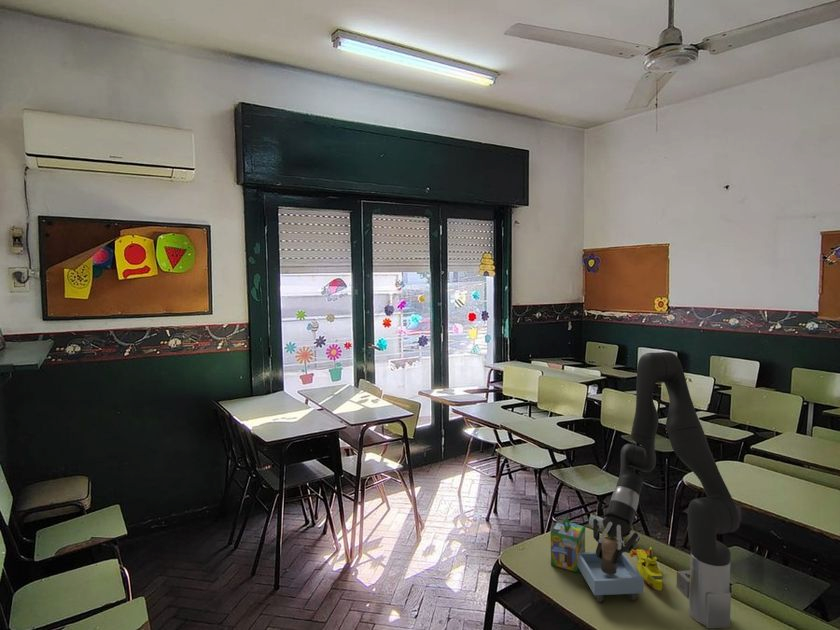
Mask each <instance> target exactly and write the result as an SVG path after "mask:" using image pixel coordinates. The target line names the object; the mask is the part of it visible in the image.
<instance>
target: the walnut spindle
mask: <svg viewBox="0 0 840 630" xmlns="http://www.w3.org/2000/svg"><path fill="white" fill-rule="evenodd" d="M616 549H617V539H616V538H615V539H614V538H613V537H610V538H608V537H606V538H603V539H602V556H601V570H602V571H603V572H604V573H606V574H610V575H613V574H616V572H617V564H616V565H615V564H613V563H612V559H613V556H614V553H615V551H616Z"/></svg>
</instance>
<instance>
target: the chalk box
mask: <svg viewBox="0 0 840 630" xmlns="http://www.w3.org/2000/svg"><path fill="white" fill-rule="evenodd" d="M583 552H586V526H584V525H580V524H577V523H574V522H570V519H569V516H568V515H567V514H566V516H564V519H563V520H560V519H558V520H557V521H556V523H555V524H554V526H553V527H552V529H551V530H550V565H551V566H552V567H557V568H560V569H564V570H567V571H571V572H574V573H577V574H579V573H581V571H580V569H579V568H578V566H577V553H583Z"/></svg>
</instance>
